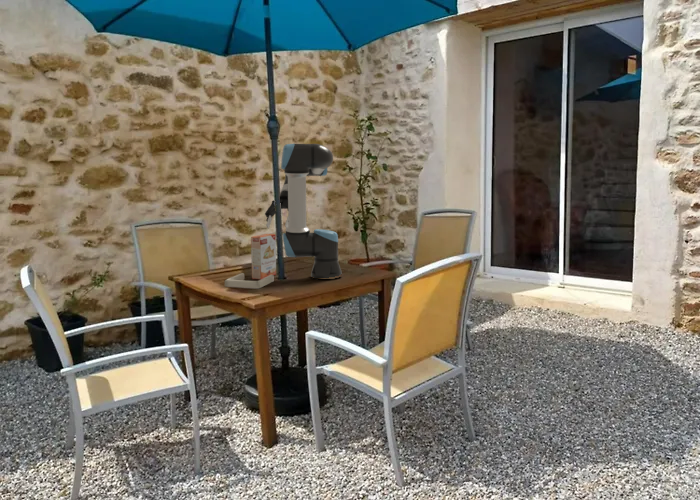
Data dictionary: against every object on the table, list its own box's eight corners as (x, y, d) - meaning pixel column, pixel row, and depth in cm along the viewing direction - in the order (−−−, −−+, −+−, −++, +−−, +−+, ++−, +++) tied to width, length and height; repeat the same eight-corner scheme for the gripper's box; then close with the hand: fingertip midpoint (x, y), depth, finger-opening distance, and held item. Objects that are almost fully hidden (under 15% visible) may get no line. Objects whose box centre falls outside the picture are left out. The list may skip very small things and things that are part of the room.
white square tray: (274, 281, 281) (273, 274, 280) (258, 288, 264) (258, 282, 264) (241, 279, 285) (241, 273, 285) (224, 286, 269) (224, 280, 269)
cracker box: (261, 280, 283) (260, 237, 280) (251, 279, 286) (249, 236, 282) (277, 274, 296) (276, 233, 292) (267, 273, 298) (265, 233, 295)
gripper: (308, 199, 315) (299, 232, 303) (270, 198, 321) (259, 230, 309) (305, 189, 310) (295, 222, 297) (266, 189, 316) (254, 221, 303)
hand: (276, 227), depth 303 cm, fingers open, 10 cm apart
